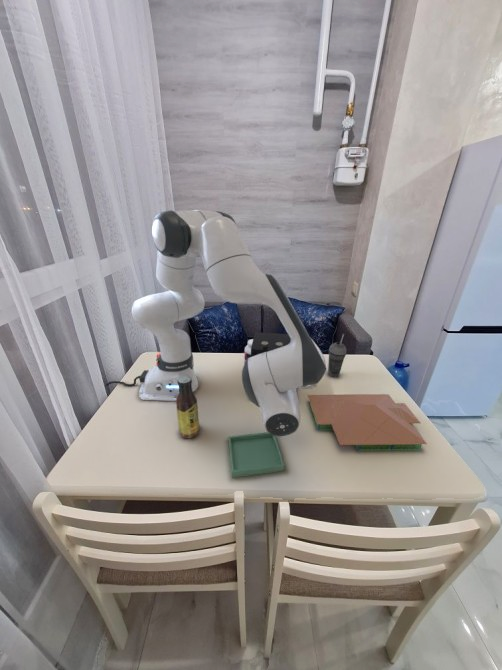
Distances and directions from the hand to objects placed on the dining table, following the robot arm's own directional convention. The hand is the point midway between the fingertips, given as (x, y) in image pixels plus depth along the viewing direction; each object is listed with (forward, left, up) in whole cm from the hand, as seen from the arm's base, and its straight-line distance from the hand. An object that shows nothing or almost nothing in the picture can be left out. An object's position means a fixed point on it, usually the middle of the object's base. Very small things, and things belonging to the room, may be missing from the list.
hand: (276, 365), depth 82 cm
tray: (-9, -15, -20) cm, 27 cm away
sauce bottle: (-28, -3, -21) cm, 35 cm away
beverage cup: (+32, +21, -21) cm, 43 cm away
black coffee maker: (+3, +14, -20) cm, 25 cm away
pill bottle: (-2, +29, -21) cm, 35 cm away
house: (+29, -8, -21) cm, 36 cm away
